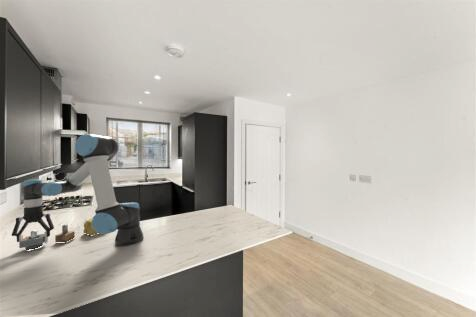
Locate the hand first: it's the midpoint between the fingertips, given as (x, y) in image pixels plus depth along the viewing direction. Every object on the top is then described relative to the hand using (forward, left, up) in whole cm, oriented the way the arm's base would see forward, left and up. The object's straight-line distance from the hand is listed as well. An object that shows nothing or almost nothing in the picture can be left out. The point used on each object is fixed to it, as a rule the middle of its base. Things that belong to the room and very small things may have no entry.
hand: (34, 244), depth 112 cm
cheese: (-20, -22, -3) cm, 30 cm away
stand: (-10, -9, -2) cm, 14 cm away
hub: (0, 0, -2) cm, 2 cm away
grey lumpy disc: (0, 0, +1) cm, 1 cm away
